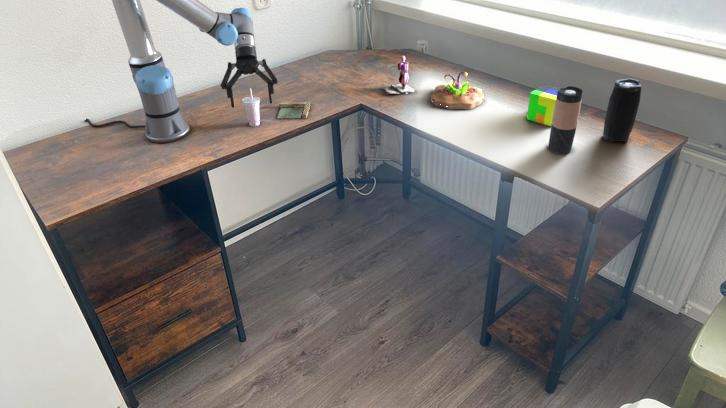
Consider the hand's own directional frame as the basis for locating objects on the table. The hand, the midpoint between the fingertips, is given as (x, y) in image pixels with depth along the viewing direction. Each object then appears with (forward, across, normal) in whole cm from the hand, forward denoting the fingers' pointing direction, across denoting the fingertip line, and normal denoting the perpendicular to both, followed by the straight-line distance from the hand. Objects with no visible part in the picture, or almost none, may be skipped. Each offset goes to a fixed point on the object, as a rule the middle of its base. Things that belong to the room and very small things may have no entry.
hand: (251, 104), depth 198 cm
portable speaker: (+35, +119, -23) cm, 126 cm away
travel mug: (+37, +98, -25) cm, 107 cm away
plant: (+4, +78, +8) cm, 79 cm away
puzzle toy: (+21, +104, -9) cm, 106 cm away
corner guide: (+1, +14, +10) cm, 18 cm away
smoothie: (+6, 0, +5) cm, 8 cm away
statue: (-6, +58, +17) cm, 61 cm away
